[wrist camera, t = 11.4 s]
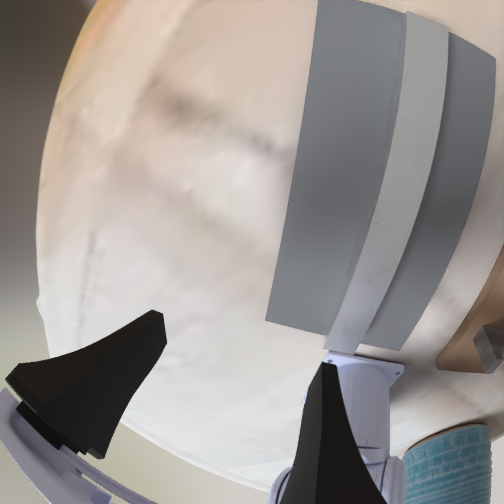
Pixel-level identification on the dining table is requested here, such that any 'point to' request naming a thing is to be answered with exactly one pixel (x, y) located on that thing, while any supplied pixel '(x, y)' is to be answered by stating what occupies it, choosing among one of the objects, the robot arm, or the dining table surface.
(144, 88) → the dining table surface
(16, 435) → the robot arm
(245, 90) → the dining table surface
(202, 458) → the dining table surface
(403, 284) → the mat
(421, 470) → the vase
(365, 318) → the rail
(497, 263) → the rack
